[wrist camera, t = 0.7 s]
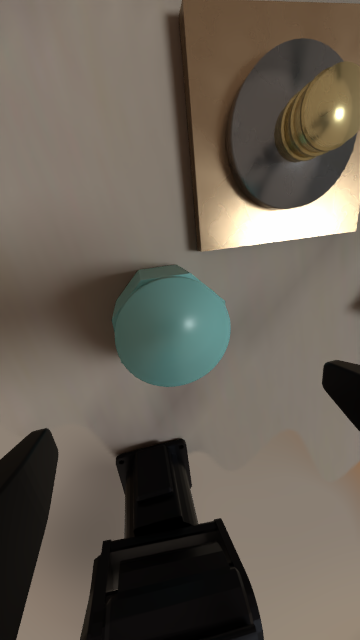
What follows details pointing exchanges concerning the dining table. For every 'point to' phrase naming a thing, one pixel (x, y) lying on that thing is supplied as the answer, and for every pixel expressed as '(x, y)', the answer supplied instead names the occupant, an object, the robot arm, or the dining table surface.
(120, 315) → the cap
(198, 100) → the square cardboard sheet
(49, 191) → the dining table surface
